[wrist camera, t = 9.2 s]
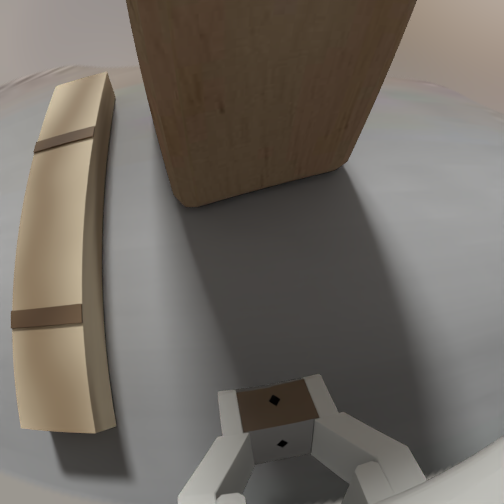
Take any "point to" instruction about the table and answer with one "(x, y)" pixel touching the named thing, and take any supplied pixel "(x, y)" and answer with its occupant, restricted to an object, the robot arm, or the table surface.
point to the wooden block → (260, 86)
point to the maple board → (64, 267)
